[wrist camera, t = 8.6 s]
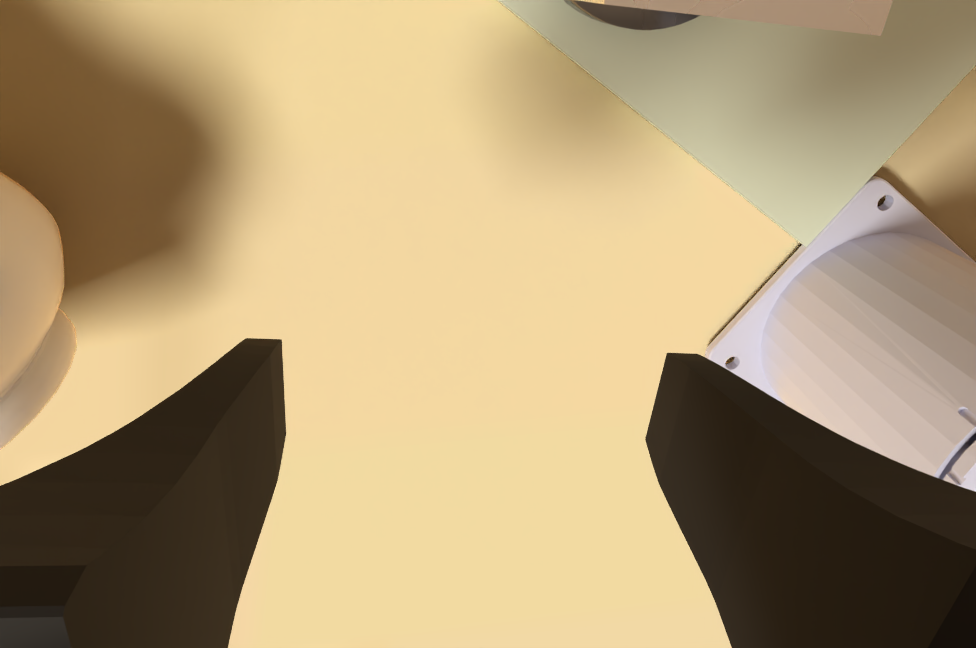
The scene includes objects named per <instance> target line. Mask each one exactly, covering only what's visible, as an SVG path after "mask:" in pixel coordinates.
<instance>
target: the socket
mask: <svg viewBox="0 0 976 648" xmlns="http://www.w3.org/2000/svg"><path fill="white" fill-rule="evenodd" d="M578 1H585V2H592V3H599V4H606V5H615V6H624V7H632V8H641V9H650V10H659V11H667V12H676V13H685V14H694V15H702V16H711V17H720V18H729V19H737V20H746V21H755V22H764V23H772V24H781V25H790V26H799V27H807V28H816V29H825V30H834V31H842V32H851V33H860V34H869V35H877V36H881V34H882V31H883V28H884V25H885V22H886V19H887V16H888V14H889V11H890V8H891V5H892V2H893V0H578Z"/></svg>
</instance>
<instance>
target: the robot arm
mask: <svg viewBox="0 0 976 648" xmlns="http://www.w3.org/2000/svg"><path fill="white" fill-rule="evenodd" d="M885 195H886V198H885V201H884V203H883V204H882V205H880V206H879V207H877V205H878V201H879V200H880V198H882V197H883V196H885ZM705 356H706V358H705V357H703V356H701V355H698V354H683V353H667V355H666V359H665V363H664V367H663V371H662V375H661V379H660V383H659V387H658V391H657V395H656V399H655V403H654V407H653V411H652V415H651V419H650V423H649V427H648V431H647V435H646V439H645V440H646V443H647V447H648V450H649V454H650V457H651V461H652V464H653V467H654V470H655V473H656V476H657V479H658V482H659V485H660V487H661V489H662V491H663V493H664V495H665V497H666V500H667V502H668V504H669V506H670V508H671V510H672V512H673V514H674V516H675V518H676V520H677V522H678V524H679V527H680V529H681V531H682V533H683V535H684V537H685V539H686V541H687V543H688V545H689V547H690V549H691V551H692V553H693V555H694V557H695V559H696V561H697V563H698V565H699V567H700V569H701V571H702V573H703V575H704V577H705V579H706V582H707V584H708V586H709V588H710V591H711V593H712V595H713V598H714V600H715V602H716V605H717V608H718V610H719V613H720V616H721V619H722V621H723V624H724V627H725V630H726V632H727V635H728V638H729V641H730V644H731V646H732V648H976V262H975V261H974V260H973V259H972V258H971V257H970V256H968V255H967V254H966V253H965V252H964V251H963V250H962V249H961V248H960V247H959V246H958V245H956V244H955V243H954V242H953V241H952V240H951V239H950V238H949V237H948V236H947V235H946V234H944V233H943V232H942V231H941V230H940V229H939V228H938V227H937V226H936V225H935V224H933V223H932V222H931V221H930V220H929V219H928V218H927V217H926V216H925V215H924V214H923V213H921V212H920V211H919V210H918V209H917V208H916V207H915V206H914V205H913V204H912V203H911V202H909V201H908V200H907V199H906V198H905V197H904V196H903V195H902V194H901V193H900V192H898V191H897V190H896V189H895V188H894V187H893V186H892V185H891V184H890V183H889V182H888V181H886V180H884V179H882V178H880V177H877V176H872V177H871V178H870V179H869V180H868V181H867V183H866V184H865V185H864V186H863V187H862V188H861V189H860V190H859V191H858V192H857V193H856V194H855V195H854V196H853V198H852V199H851V200H850V201H849V202H848V203H847V204H846V205H845V206H844V207H843V208H842V209H841V210H840V212H839V213H838V214H837V215H836V216H835V217H834V218H833V219H832V220H831V221H830V222H829V223H828V224H827V225H826V227H825V228H824V229H823V230H822V231H821V232H820V233H819V234H818V235H817V236H816V237H815V238H814V239H813V240H812V242H811V243H810V244H809V245H808V246H807V247H805V246H804V245H801V246H800V248H799V249H798V250H797V251H796V252H795V253H794V254H793V255H792V256H791V257H790V258H789V259H788V260H787V262H786V263H785V264H784V265H783V266H782V267H781V268H780V269H779V270H778V271H777V272H776V273H775V274H774V276H773V277H772V278H771V279H770V280H769V281H768V282H767V283H766V284H765V285H764V286H763V287H762V288H761V290H760V291H759V292H758V293H757V294H756V295H755V296H754V297H753V298H752V299H751V300H750V301H749V302H748V304H747V305H746V306H745V307H744V308H743V309H742V310H741V311H740V312H739V313H738V314H737V315H736V316H735V318H734V319H733V320H732V321H731V322H730V323H729V324H728V325H727V326H726V327H725V328H724V329H723V330H722V332H721V333H720V334H719V335H718V336H717V337H716V338H715V339H714V340H713V341H712V342H711V343H710V345H709V346H708V347H707V349H706V352H705ZM730 357H735V358H734V360H733V361H732V362H731V363H728V364H725V363H726V361H727V360H728V359H729V358H730ZM285 436H286V423H285V402H284V381H283V360H282V340H280V339H251V338H246V339H245V340H243V341H242V342H240V343H239V344H238V345H236V346H235V347H234V348H233V349H231V350H230V351H229V352H228V353H226V354H225V355H224V356H223V357H221V358H220V359H219V360H218V361H216V362H215V363H214V364H213V365H211V366H210V367H209V368H208V369H206V370H205V371H204V372H202V373H201V374H200V375H198V376H197V377H196V378H194V379H193V380H192V381H191V382H189V383H188V384H187V385H185V386H184V387H183V388H181V389H180V390H178V391H177V392H175V393H174V394H173V395H171V396H170V397H168V398H167V399H165V400H164V401H162V402H161V403H159V404H158V405H156V406H155V407H153V408H152V409H150V410H149V411H147V412H146V413H145V414H143V415H142V416H140V417H139V418H137V419H135V420H134V421H132V422H130V423H129V424H127V425H125V426H124V427H122V428H120V429H119V430H117V431H115V432H113V433H112V434H110V435H108V436H106V437H104V438H102V439H101V440H99V441H97V442H95V443H93V444H91V445H90V446H88V447H86V448H84V449H82V450H80V451H78V452H76V453H74V454H72V455H69V456H67V457H65V458H63V459H61V460H58V461H56V462H54V463H52V464H50V465H47V466H45V467H43V468H41V469H39V470H36V471H34V472H32V473H30V474H28V475H25V476H23V477H21V478H19V479H16V480H14V481H12V482H9V483H7V484H4V485H1V486H0V648H228V644H229V639H230V634H231V630H232V625H233V621H234V616H235V612H236V608H237V604H238V601H239V597H240V594H241V590H242V587H243V584H244V581H245V578H246V575H247V572H248V569H249V566H250V563H251V560H252V557H253V554H254V551H255V548H256V545H257V542H258V539H259V536H260V533H261V530H262V527H263V524H264V521H265V518H266V514H267V511H268V508H269V505H270V502H271V499H272V496H273V493H274V490H275V487H276V483H277V480H278V475H279V470H280V464H281V459H282V453H283V448H284V442H285Z"/></svg>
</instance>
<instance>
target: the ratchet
mask: <svg viewBox="0 0 976 648" xmlns="http://www.w3.org/2000/svg"><path fill="white" fill-rule="evenodd" d="M564 1H565V2H566V3H567V4H568V5H569V6H571V7H572V8H574V9H575V10H576V11H578V12H579V13H581V14H583V15H585V16H587V17H589V18H591V19H594V20H596V21H599V22H602V23H605V24H610V25H614V26H618V27H622V28H628V29H634V30H656V29H665V28H669V27H673V26H676V25H680V24H683V23H685V22H688V21H690V20H692V19H695V18H697V17H699V16H700V15H694V14H685V13H676V12H667V11H659V10H650V9H641V8H632V7H624V6H615V5H606V4H599V3H592V2H585V1H578V0H564Z"/></svg>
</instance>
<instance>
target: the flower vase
mask: <svg viewBox="0 0 976 648" xmlns="http://www.w3.org/2000/svg"><path fill="white" fill-rule="evenodd" d="M63 290H64V257H63V246H62V239H61V235H60V232H59V228H58V226H57V224H56V222H55V220H54V218H53V216H52V215H51V214H50V212H49V211H48V210H47V209H46V208H45V207H44V205H43V204H42V203H41V202H40V201H39V200H38V199H37V198H36V197H35V196H34V195H32V194H31V193H30V192H29V191H28V190H27V189H25V188H24V187H23V186H21V185H20V184H18V183H17V182H16V181H14V180H13V179H11V178H9V177H8V176H6V175H5V174H3V173H2V172H0V450H1V449H2V448H3V447H5V446H6V445H7V444H9V443H10V442H11V441H12V440H13V439H14V438H15V437H16V436H17V435H18V434H19V433H20V432H21V431H22V430H23V429H24V428H25V427H26V426H28V425H29V424H30V423H31V422H32V421H33V420H34V419H35V418H36V417H37V415H38V414H39V413H40V412H41V410H42V409H43V408H44V407H45V406H46V404H47V403H48V402H49V401H50V399H51V398H52V397H53V396H54V395H55V393H56V392H57V390H58V389H59V387H60V385H61V383H62V382H63V380H64V378H65V377H66V375H67V373H68V372H69V370H70V367H71V364H72V361H73V358H74V355H75V352H76V348H77V341H76V330H75V327H74V325H73V323H72V322H71V321H70V319H69V318H68V317H67V315H66V314H65V313H64V312H63V311H62V310H61V309H59V305H60V303H61V300H62V295H63Z"/></svg>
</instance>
